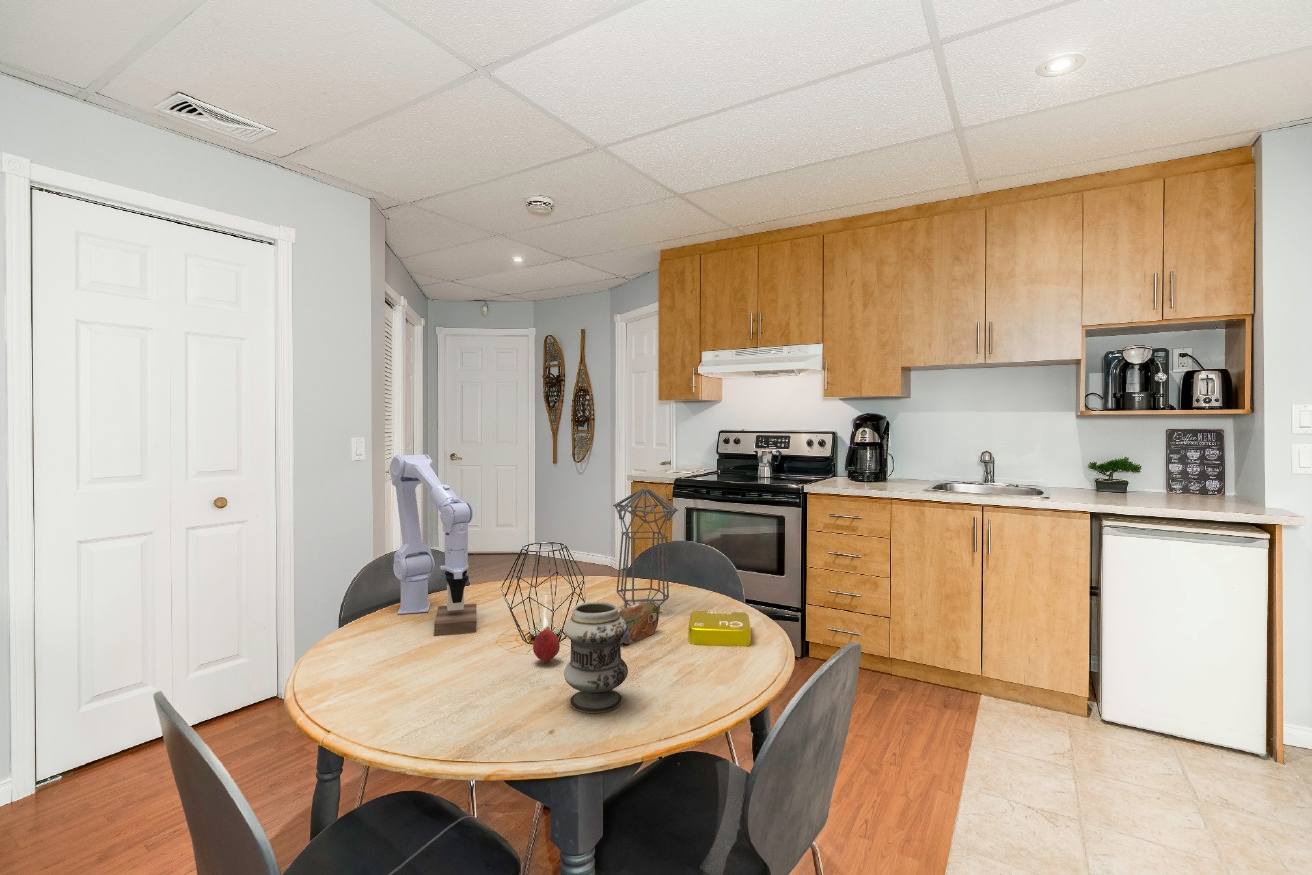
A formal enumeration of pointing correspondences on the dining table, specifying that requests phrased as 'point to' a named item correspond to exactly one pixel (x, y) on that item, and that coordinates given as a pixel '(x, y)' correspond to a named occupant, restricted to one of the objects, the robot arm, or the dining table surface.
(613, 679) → the apothecary jar
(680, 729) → the dining table surface
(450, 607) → the block
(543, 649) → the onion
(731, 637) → the element tile
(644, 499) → the geometric lantern
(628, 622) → the tin
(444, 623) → the plinth
